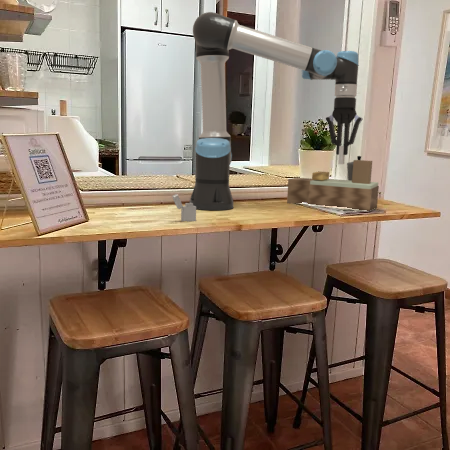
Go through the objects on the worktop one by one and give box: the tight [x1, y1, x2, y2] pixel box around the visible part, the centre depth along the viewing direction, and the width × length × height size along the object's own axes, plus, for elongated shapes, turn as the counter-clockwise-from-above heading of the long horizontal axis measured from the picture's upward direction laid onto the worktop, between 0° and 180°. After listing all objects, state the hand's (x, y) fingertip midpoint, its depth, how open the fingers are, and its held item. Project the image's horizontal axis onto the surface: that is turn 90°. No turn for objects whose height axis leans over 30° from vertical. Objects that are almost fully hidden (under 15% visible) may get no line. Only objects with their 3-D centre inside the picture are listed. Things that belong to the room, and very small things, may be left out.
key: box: [311, 171, 330, 180], centre depth 188 cm, size 4×8×2 cm, turn 153°
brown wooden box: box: [286, 177, 380, 212], centre depth 187 cm, size 31×14×9 cm, turn 63°
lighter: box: [171, 193, 197, 222], centre depth 148 cm, size 7×2×8 cm, turn 116°
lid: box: [310, 159, 379, 189], centre depth 184 cm, size 22×14×11 cm, turn 63°
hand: (341, 164), depth 184 cm, fingers closed
